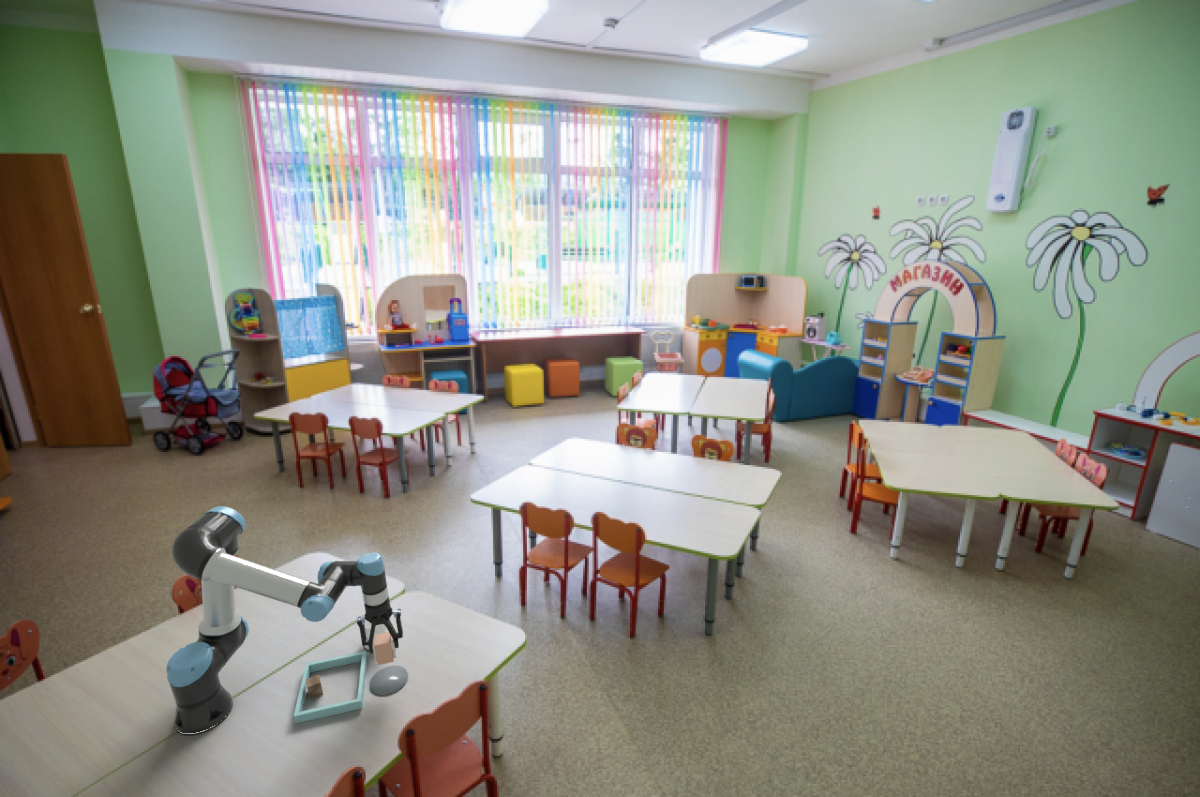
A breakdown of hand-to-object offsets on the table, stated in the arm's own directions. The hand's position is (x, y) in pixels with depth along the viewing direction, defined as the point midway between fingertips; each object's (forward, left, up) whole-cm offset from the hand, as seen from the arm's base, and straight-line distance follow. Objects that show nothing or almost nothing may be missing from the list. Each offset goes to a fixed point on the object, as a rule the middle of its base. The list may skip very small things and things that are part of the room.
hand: (385, 657), depth 190 cm
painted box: (0, 0, 0) cm, 0 cm away
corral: (-18, +2, -10) cm, 20 cm away
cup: (-5, +22, -10) cm, 25 cm away
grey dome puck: (0, 0, -10) cm, 10 cm away
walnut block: (-23, +2, -10) cm, 25 cm away
